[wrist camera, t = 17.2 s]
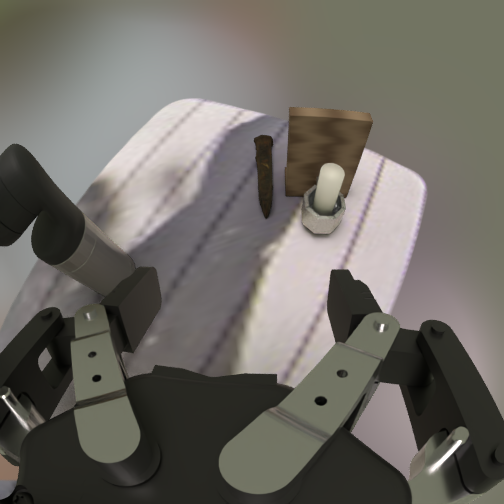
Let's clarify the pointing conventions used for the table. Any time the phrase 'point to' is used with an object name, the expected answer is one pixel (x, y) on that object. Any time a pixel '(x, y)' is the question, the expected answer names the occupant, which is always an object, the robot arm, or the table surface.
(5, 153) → the robot arm
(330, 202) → the cream white cylinder
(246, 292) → the table surface
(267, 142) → the hand tool
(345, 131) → the wooden bookend
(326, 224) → the metal cup
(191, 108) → the table surface
